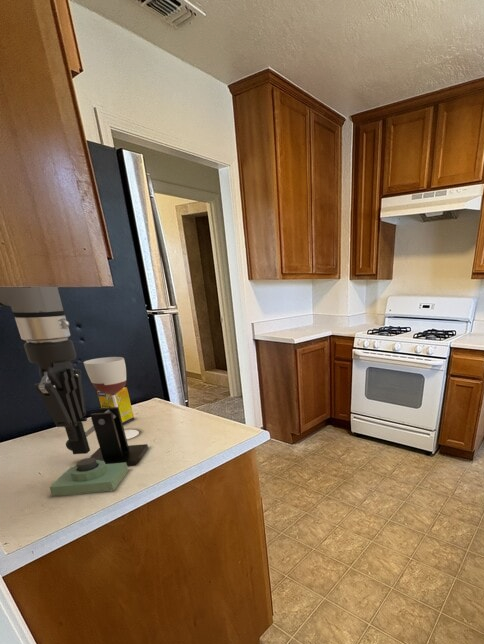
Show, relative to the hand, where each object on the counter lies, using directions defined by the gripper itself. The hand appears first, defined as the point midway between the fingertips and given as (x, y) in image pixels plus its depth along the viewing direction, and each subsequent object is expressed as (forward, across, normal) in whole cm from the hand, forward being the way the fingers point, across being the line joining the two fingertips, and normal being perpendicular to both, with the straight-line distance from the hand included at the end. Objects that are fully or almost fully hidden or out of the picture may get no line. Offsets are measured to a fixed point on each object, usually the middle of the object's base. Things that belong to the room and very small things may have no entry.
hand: (81, 452), depth 76 cm
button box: (+8, 0, 0) cm, 8 cm away
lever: (+1, +12, +2) cm, 12 cm away
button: (+4, 0, 0) cm, 4 cm away
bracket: (+8, +12, -1) cm, 14 cm away
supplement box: (+8, +40, +8) cm, 41 cm away
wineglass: (+8, +28, +3) cm, 29 cm away
